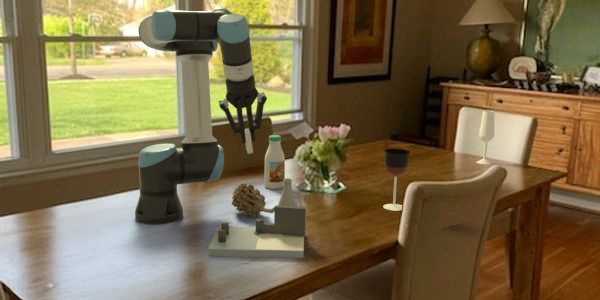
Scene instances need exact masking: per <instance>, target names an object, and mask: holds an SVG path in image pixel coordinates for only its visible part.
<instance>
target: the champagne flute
mask: <svg viewBox="0 0 600 300" xmlns="http://www.w3.org/2000/svg"><path fill="white" fill-rule="evenodd" d="M480 121H481V122H480V127H479V132H478V136H479V138H480V139H481V141H482V142H484V146H483V147H484V148H483V156H482V157H483V158H482V159H480V160H478V161H476V163H477V164H480V165H492V162H491V161H490V160H488V159H487V149H488V148H487V147H488V143H489V142H490V141H491V140H493V139H494V137H495V111H493V110H482V116H481V120H480Z"/></svg>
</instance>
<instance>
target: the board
mask: <svg viewBox="0 0 600 300" xmlns="http://www.w3.org/2000/svg"><path fill="white" fill-rule="evenodd" d="M304 246H305V236H304V235H291V234H278V233H264V232H261V233H258V232H256V226H230V223H229V222H227V221H226V222H225V221H224V222H222V223H221V226H220V225H219V226H217V227H216V229H215V231H214V234H213V237H212V238H211V241H210V243H209V245H208V248H207V256H208V257H240V258H241V257H243V258H245V257H246V258H251V257H252V258H281V259H282V258H285V259H286V258H287V259H295V258H296V259H303V258H304V254H305V253H304V252H305V251H304V250H305V247H304Z"/></svg>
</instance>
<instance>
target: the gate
mask: <svg viewBox="0 0 600 300" xmlns="http://www.w3.org/2000/svg"><path fill="white" fill-rule="evenodd" d="M273 208H274V216H273V217H274V219H273V220H274V222H273V223H272V222H265V220H264V218H257V219H255V227H256V232H258V233H261V232H264V233H278V234H291V235H304V237H305V236H306V235H307V234H306V233H307V232H306V231H307V207H305V206H297V207H294V206H279V205H278V204H277V205H276V204H275V205H274V206H273Z"/></svg>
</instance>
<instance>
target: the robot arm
mask: <svg viewBox="0 0 600 300" xmlns="http://www.w3.org/2000/svg"><path fill="white" fill-rule="evenodd" d="M138 26H139V27H138V30H137V31H138V36H139V38H140V40H141V42H142V43H143V44H144V45H145V46H146V47H148V48H150V49H153V50H156V51H161V52H175V54H176V55H175V57H176V59H177V60H178V61H179V62H180V63H181V72H182V73H181V78H182V93H183V94H182V96H183V113H184V129H185V130H184V132H185V133H184V134H185V137H184V138H183V139H182V140H181V147H179V148H178V147H177V145H176V144H174V143H158V144H157V143H156V144H153V145H149V146H146V147H144V148H143V149H141V150H140V151H139V154H138V163H137V166H138V174H139V176H138V177H139V197H138V200H137V203H136V207H135V211H134V215H135V216H134V217H135V220H136V221H137V222H140V223H142V224H146V225H164V224H165V225H166V224H170V223H174V222H176V221H177V222H178V221H179V220H182V219H183V217H184V208H183V205H182V202H181V200H180V198H179V195H178V185H184V184H194V183H195V184H197V183H210V182H214V181H218V180H219V179H220V178H221V176H222V174H223V170H224V167H225V166H224V162H225V153H224V148H223V147H222V146H221V145H220V144H218V140H217V138H215V137H214V136H213V125H212V123H213V122H212V108H211V107H212V105H211V87H210V86H211V85H210V84H211V83H210V69H209V67H210V66H209V61H210V60H212V58H213V57H214V55H213V54H214V53H215V52H217V50H218V46H219V47H220V54H221V58H222V59H221V60H222V66H223V67H222V68H223V74H224V81H225V88H226V93H225V94H226V95H225V98H224V99H223V100H219V101H218V106H219V108H220V109H221V110H222V111H223V112H224V114H225V116H226V119H227V120H228V123H229V125H230V128H231V129H232V131H233V133H234V134H239V136H240V142H241V144H244V145H245V150H246V152H247V155H249V154H253V153H254V149H253V142H255V141H256V135H255V132H256V130H259V129H261V127H262V120H263V112H264V106H265V104H266V102H267V100H268V97H267V96H266V93H265V92H258V89H257V86H256V81H255V74H254V64H253V58H252V48H251V38H250V28H249V24H248V19H247V18H246V16H244V15H242V14H240V13H239V14H238V13H233V12H231V11H230V9H227V8H226V7H223V6H216V7H214V8H213V9H211V10H207V11H206V10H205V11H203V10H202V11H201V10H199V11H195V10H193V11H189V10H169V9H163V10H154V11H153V12H152V15H149V16H147V17H145V18H144V19H143V20H141V22H140V23H139V25H138ZM256 99H257V102H256V103H257V104H256V109H255V117H254V118H253V109H252V105H253V104H254V103H255V100H256ZM229 104H230V105H231V106H232V107H234V108H235V110H236V116H237V123H238V126H237V124H236V122H235V120H234V117H233V115H232V113H231V111H230V109H229V107H230V105H229ZM244 108H245V112H246V117H247V118H246V119H247V120H246V121H247V125H248V126H247V127H248V128H245V123H244V122H245V121H244V115H243V109H244Z"/></svg>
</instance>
